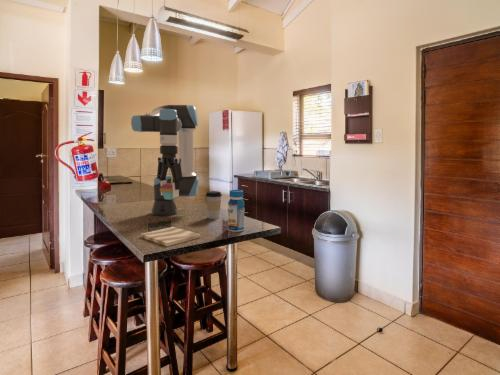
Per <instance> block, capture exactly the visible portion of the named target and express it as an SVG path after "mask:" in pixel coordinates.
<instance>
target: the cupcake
mask: <svg viewBox="0 0 500 375" xmlns="http://www.w3.org/2000/svg"><path fill="white" fill-rule="evenodd" d="M172 182H173V177H171V183H166V184H164V185H162V186H161V187H160V191H161V192H162V193H163V196H164V199H168V200H170V199H174V200H175V199H176V197H173V183H172Z"/></svg>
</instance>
